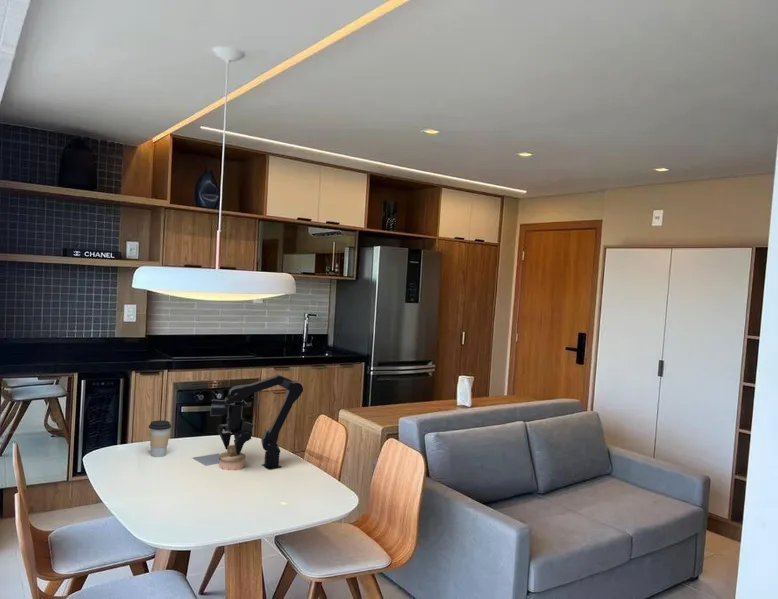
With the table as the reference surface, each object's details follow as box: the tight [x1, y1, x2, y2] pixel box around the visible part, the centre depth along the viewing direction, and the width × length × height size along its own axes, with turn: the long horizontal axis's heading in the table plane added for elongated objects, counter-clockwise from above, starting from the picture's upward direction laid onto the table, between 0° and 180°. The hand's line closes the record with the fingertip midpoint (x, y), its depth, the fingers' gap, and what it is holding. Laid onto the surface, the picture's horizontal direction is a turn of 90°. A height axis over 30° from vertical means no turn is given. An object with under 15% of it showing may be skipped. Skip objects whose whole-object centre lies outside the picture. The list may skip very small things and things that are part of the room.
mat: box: [192, 453, 220, 467], centre depth 260 cm, size 13×13×1 cm
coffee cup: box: [148, 419, 172, 458], centre depth 260 cm, size 9×9×15 cm
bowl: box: [219, 460, 245, 471], centre depth 252 cm, size 10×10×4 cm
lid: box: [218, 444, 246, 462], centre depth 252 cm, size 11×11×5 cm
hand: (232, 452), depth 252 cm, fingers open, 9 cm apart
